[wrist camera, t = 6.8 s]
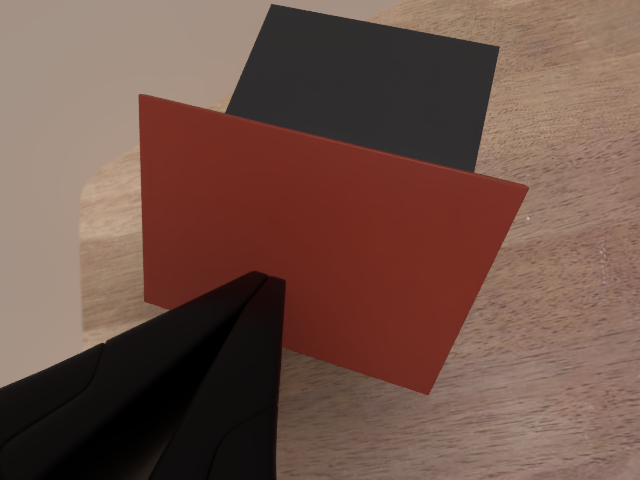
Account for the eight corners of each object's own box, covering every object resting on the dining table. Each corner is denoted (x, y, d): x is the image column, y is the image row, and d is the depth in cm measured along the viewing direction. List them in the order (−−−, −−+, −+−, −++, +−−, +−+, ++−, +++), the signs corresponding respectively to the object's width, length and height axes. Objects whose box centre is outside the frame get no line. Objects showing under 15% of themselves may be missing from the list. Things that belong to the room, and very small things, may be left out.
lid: (427, 387, 11) (428, 396, 11) (150, 297, 12) (143, 301, 12) (524, 184, 8) (530, 187, 8) (146, 94, 9) (137, 94, 9)
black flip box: (387, 360, 20) (430, 395, 11) (226, 308, 21) (143, 300, 12) (437, 152, 23) (501, 45, 14) (295, 119, 24) (270, 2, 15)
